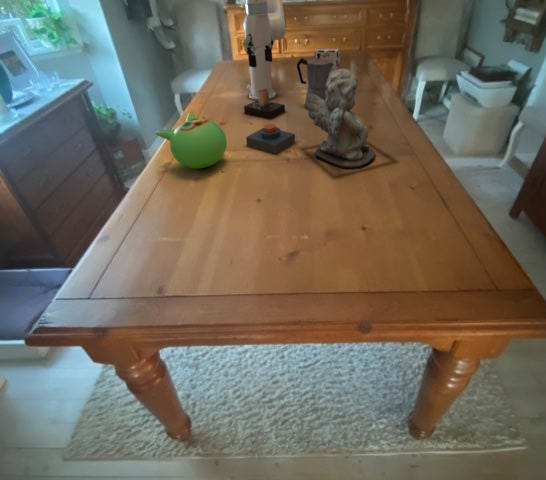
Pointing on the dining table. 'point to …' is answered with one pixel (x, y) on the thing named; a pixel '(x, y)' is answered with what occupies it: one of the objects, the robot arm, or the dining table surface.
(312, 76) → the moka pot
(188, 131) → the toy bird
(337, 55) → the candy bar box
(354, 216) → the dining table surface
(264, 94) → the tan wooden block
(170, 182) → the dining table surface
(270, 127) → the release button
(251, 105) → the panel
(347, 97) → the angel statue
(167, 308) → the dining table surface
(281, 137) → the dark piece
